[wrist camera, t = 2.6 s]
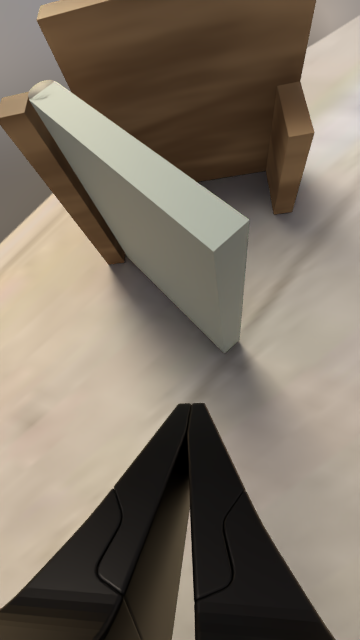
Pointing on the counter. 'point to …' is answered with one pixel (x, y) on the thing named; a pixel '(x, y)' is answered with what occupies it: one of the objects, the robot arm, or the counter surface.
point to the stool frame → (178, 92)
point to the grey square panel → (155, 213)
